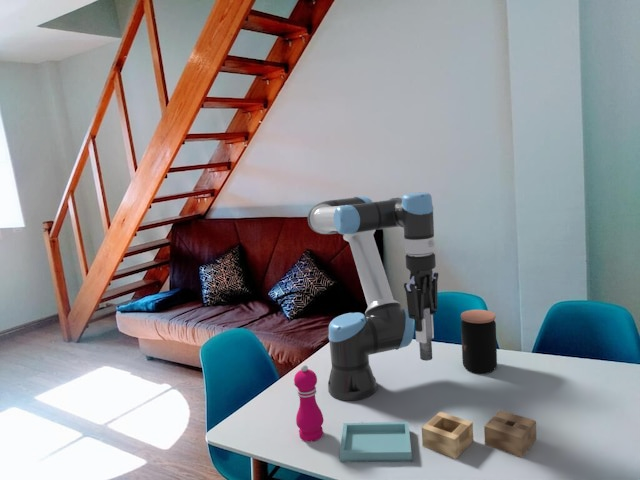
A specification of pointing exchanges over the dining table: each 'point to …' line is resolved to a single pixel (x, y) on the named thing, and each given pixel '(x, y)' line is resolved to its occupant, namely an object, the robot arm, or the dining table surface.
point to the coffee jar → (479, 341)
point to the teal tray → (375, 442)
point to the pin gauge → (426, 347)
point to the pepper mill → (308, 406)
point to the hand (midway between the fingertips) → (425, 339)
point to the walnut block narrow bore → (510, 433)
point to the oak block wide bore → (447, 434)
